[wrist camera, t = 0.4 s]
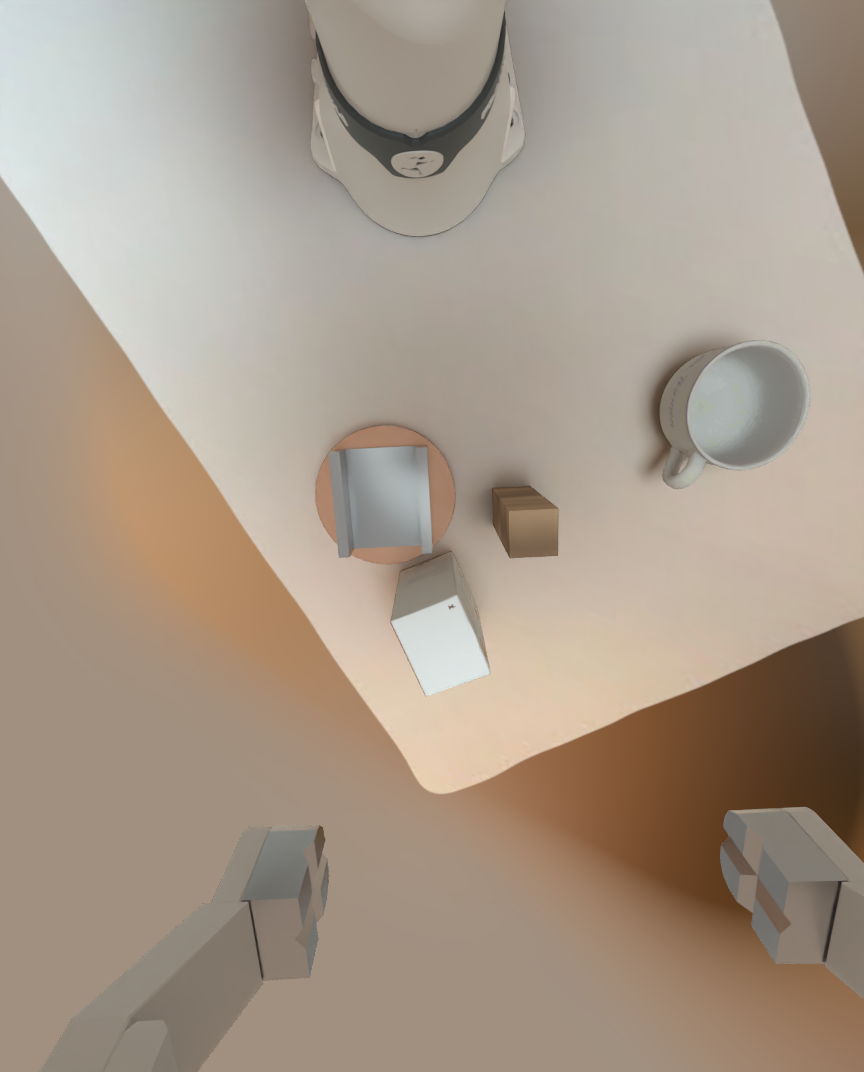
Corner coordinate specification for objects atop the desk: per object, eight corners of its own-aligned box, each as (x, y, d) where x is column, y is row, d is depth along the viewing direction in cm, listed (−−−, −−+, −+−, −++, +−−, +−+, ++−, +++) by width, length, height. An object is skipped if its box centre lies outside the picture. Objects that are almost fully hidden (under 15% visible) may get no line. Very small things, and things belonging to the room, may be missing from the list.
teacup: (712, 326, 48) (767, 310, 40) (777, 409, 50) (841, 409, 42) (601, 429, 50) (631, 432, 42) (666, 504, 52) (707, 520, 44)
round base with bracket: (314, 429, 50) (298, 431, 44) (451, 421, 50) (453, 423, 44) (328, 560, 54) (315, 578, 48) (456, 554, 53) (459, 571, 48)
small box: (398, 571, 54) (388, 620, 41) (452, 549, 53) (458, 592, 41) (427, 633, 56) (425, 699, 43) (479, 613, 55) (493, 674, 43)
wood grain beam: (492, 488, 52) (509, 511, 40) (530, 486, 52) (558, 508, 40) (493, 525, 53) (509, 558, 41) (530, 523, 53) (557, 555, 41)
